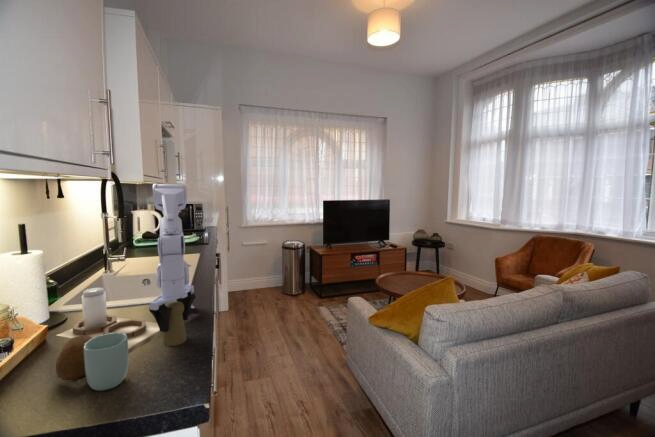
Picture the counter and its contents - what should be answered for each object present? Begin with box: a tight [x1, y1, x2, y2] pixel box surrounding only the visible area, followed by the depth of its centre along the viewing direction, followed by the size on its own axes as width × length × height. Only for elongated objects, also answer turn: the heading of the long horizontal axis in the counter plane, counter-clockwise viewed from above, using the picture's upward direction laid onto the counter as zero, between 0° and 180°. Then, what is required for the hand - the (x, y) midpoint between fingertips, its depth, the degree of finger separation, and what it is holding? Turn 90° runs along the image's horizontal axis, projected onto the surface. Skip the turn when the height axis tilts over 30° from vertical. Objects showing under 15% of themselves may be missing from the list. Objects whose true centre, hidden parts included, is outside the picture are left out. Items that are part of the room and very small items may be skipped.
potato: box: [55, 336, 93, 382], centre depth 71 cm, size 8×12×9 cm
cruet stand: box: [55, 314, 164, 354], centre depth 89 cm, size 14×25×3 cm, turn 76°
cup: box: [83, 333, 130, 392], centre depth 67 cm, size 8×8×10 cm
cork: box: [162, 302, 187, 347], centre depth 86 cm, size 6×6×11 cm
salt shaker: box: [81, 287, 108, 329], centre depth 90 cm, size 6×6×11 cm
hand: (174, 325), depth 86 cm, fingers open, 7 cm apart
